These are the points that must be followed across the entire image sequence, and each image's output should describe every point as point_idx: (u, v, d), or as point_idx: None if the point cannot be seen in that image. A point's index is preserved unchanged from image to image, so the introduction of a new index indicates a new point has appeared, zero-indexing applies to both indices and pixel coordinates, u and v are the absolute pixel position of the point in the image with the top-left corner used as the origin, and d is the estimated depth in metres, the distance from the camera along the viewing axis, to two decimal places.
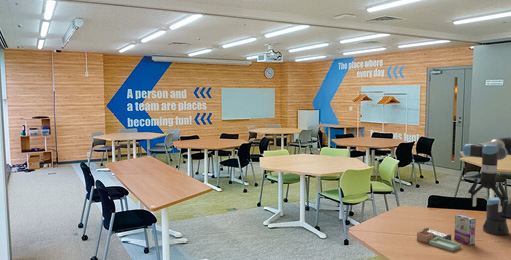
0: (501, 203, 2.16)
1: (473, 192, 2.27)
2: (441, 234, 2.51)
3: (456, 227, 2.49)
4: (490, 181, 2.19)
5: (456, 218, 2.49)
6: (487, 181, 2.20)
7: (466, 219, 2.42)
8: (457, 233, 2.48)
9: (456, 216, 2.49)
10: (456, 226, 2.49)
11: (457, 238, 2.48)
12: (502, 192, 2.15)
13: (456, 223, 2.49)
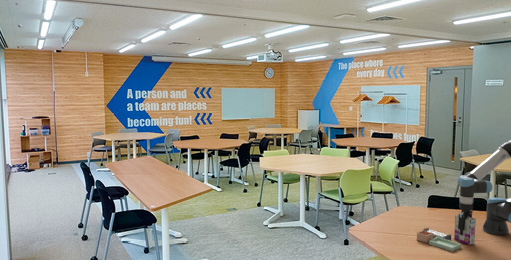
0: (460, 232, 2.44)
1: None
2: (441, 234, 2.51)
3: (456, 227, 2.49)
4: None
5: (456, 218, 2.49)
6: None
7: (466, 219, 2.42)
8: (457, 232, 2.48)
9: (456, 216, 2.49)
10: (456, 226, 2.49)
11: (457, 238, 2.48)
12: (458, 222, 2.43)
13: (456, 223, 2.49)
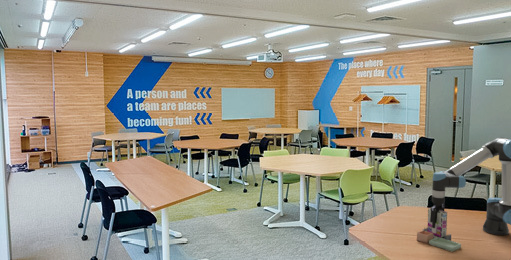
0: None
1: None
2: None
3: (429, 220, 2.55)
4: None
5: (429, 211, 2.55)
6: None
7: (438, 212, 2.48)
8: (430, 226, 2.54)
9: (429, 210, 2.55)
10: (429, 219, 2.55)
11: (430, 231, 2.55)
12: (431, 215, 2.49)
13: (429, 216, 2.55)
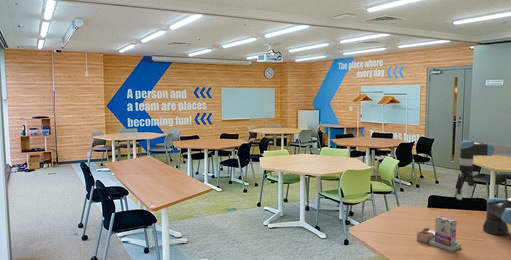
0: None
1: (468, 183, 2.56)
2: None
3: (437, 230, 2.42)
4: None
5: (436, 220, 2.42)
6: None
7: (447, 221, 2.35)
8: (438, 235, 2.41)
9: (437, 218, 2.42)
10: (437, 228, 2.42)
11: (438, 241, 2.41)
12: None
13: (437, 225, 2.42)
